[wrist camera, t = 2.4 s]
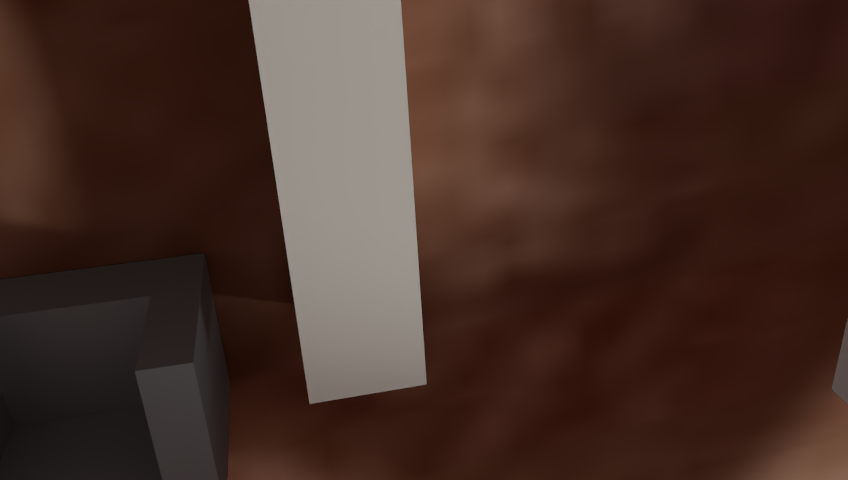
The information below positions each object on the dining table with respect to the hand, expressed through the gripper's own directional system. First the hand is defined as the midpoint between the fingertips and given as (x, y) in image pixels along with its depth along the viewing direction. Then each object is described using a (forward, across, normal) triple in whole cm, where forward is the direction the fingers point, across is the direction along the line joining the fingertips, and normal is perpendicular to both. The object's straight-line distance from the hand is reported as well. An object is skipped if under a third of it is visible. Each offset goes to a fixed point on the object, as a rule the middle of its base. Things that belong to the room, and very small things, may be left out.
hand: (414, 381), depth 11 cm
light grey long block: (+17, 0, 0) cm, 17 cm away
